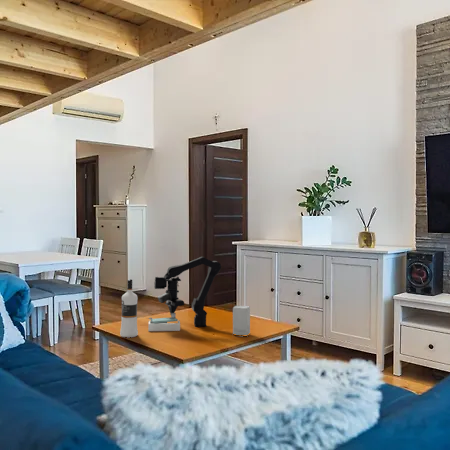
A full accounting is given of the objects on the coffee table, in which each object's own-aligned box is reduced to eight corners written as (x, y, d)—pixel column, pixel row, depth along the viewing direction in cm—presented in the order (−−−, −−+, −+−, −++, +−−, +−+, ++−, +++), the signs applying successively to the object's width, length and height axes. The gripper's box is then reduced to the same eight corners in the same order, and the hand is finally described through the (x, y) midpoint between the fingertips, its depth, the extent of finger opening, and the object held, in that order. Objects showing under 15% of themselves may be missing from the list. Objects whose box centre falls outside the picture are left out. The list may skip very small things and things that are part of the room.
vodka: (139, 337, 246) (140, 280, 245) (122, 338, 242) (123, 280, 241) (135, 332, 254) (136, 277, 253) (118, 334, 250) (119, 278, 250)
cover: (173, 318, 272) (173, 311, 272) (177, 321, 265) (177, 314, 265) (148, 320, 266) (148, 313, 266) (151, 323, 259) (152, 316, 259)
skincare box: (250, 334, 256) (250, 306, 255) (246, 337, 249) (247, 308, 249) (235, 332, 258) (236, 304, 258) (232, 335, 252) (232, 307, 252)
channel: (179, 327, 268) (179, 320, 268) (180, 330, 261) (180, 323, 261) (148, 327, 266) (148, 320, 266) (148, 331, 258) (148, 323, 258)
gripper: (152, 287, 272) (152, 313, 273) (167, 292, 257) (166, 320, 257) (169, 285, 278) (169, 311, 279) (185, 290, 263) (184, 318, 264)
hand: (171, 315), depth 270 cm, fingers closed
